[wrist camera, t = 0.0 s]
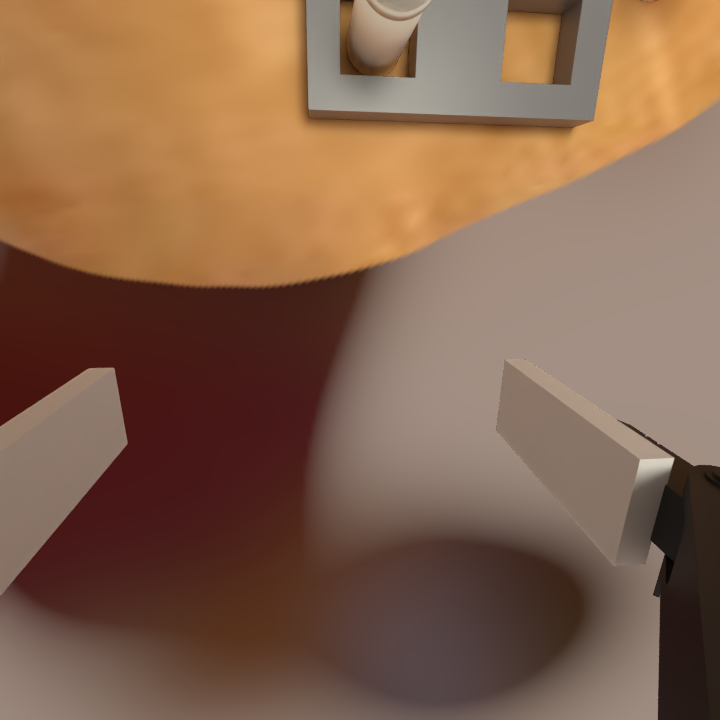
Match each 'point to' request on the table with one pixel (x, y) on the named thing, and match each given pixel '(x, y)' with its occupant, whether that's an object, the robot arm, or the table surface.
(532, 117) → the housing
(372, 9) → the white cylinder
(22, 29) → the table surface
